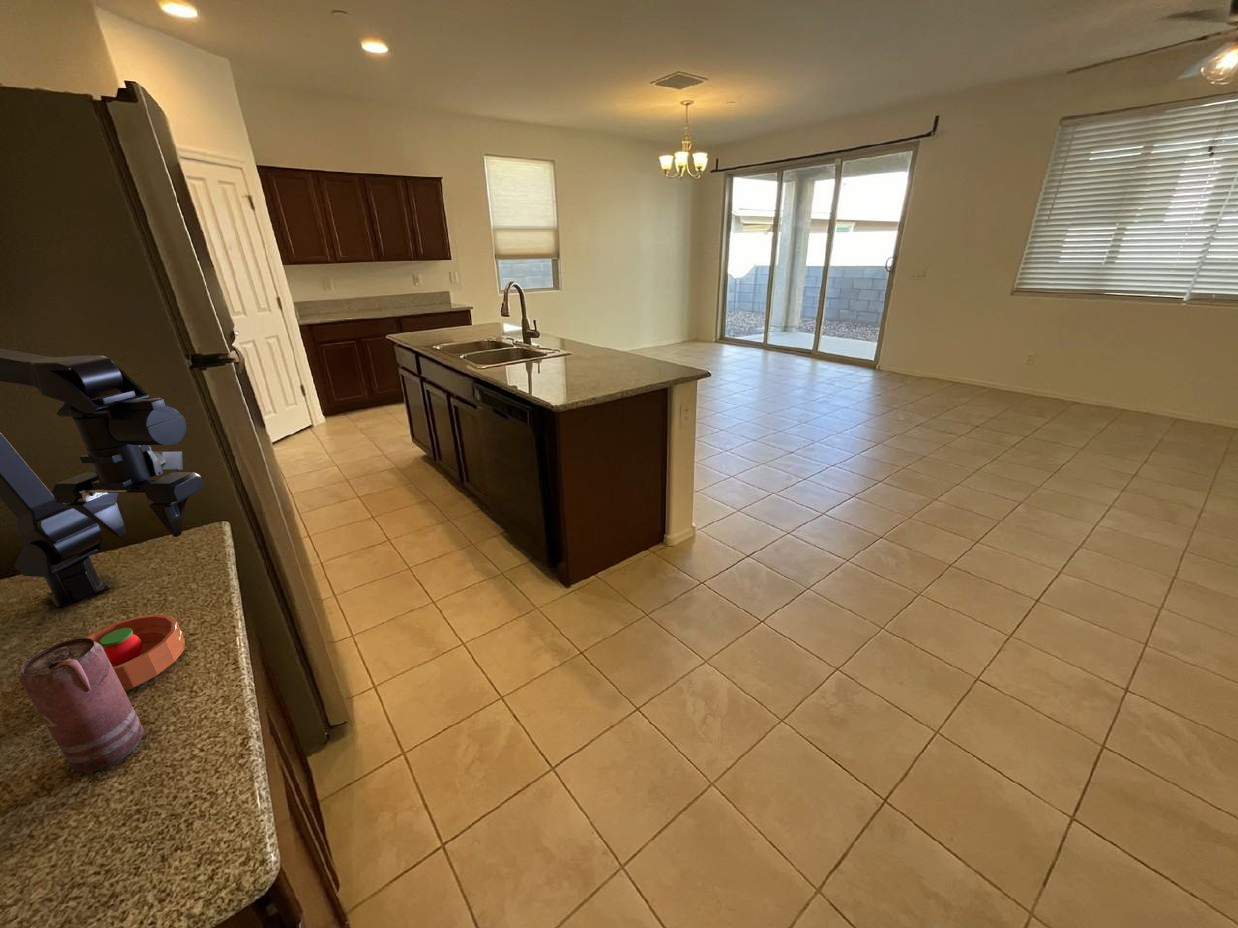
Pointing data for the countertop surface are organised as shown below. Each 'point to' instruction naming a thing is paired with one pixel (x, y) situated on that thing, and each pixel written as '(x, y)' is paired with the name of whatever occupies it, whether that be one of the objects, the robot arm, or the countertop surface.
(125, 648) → the strawberry
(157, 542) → the countertop surface
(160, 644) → the bowl
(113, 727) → the can
